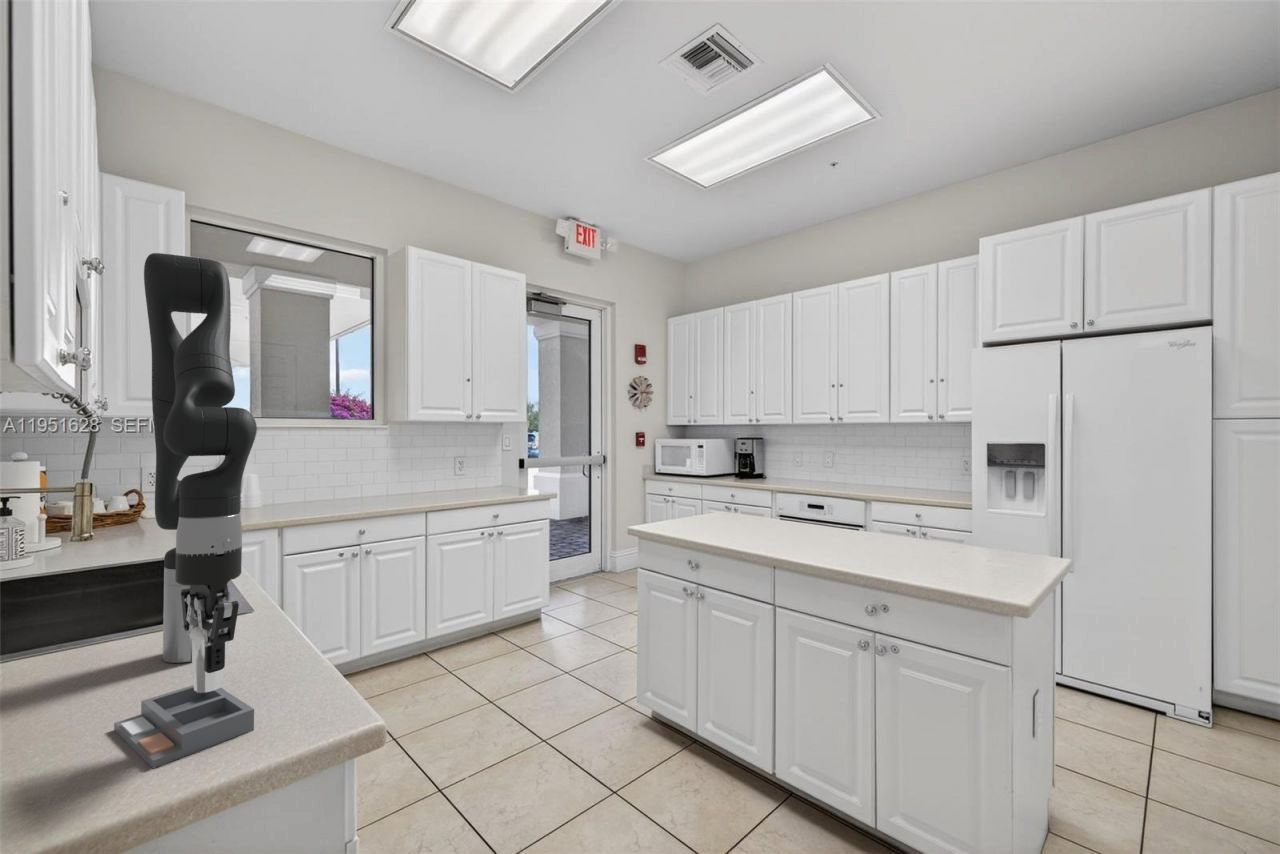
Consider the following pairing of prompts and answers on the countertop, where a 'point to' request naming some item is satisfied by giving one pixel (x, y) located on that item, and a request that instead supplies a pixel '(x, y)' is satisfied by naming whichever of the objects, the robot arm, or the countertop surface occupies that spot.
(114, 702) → the countertop surface
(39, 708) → the countertop surface
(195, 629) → the milkshake
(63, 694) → the countertop surface
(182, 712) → the dock
